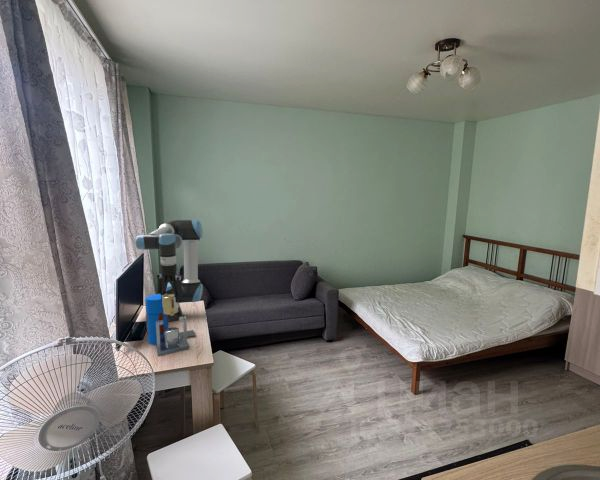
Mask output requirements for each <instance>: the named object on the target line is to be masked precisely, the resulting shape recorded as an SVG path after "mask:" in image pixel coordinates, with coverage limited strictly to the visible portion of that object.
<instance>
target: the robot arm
mask: <svg viewBox="0 0 600 480" xmlns="http://www.w3.org/2000/svg"><path fill="white" fill-rule="evenodd" d="M203 232H204V231H203V226H202V223H201V221H199V220H195V219H180V220H179V219H174V220H169V221H167V222H165V223H162V224H160V226H159V228H157V229H155V230H153V231H152V232H150V233H148V234H146V235H145V234H142V235H137V236H136V237H135V240H134V241H135V243H134V244H135V248H136V249H137V250H144V251H146V250H159V258H160V272H161V273H159V274H156V278H157V290H156V291H157V294H161V300H162V303H163V299H164V298H163V297H164V296H165V295H169V294H174V295H175V296H174V297H173V298H174V309H176V308H178V312H177V313H175V314H174V315H173V316H170V315H168V323H169V322H175V321H177V320H179V317H184V316H183V313H184V312H183V311H182V308H181V306H180V303H196V302H200V301H201V300H202V296H203V292H204V289H203V288H204V286H203V283H201V280H200V279H198V278H199V270H198V267H199V265H198V264H199V262H198V261H199V259H198V257H199V256H198V252H199V251H198V250H199V248H198V246H199V245H198V243H199V242H201V241H200V240H201V238H203V237H204V236H203V234H204V233H203ZM181 245H183V278H182V276H181V275H180V276H179V275H177V271H178V269H177V268H178V265H177V251H176V249H179V248H180V247H181ZM182 279H183V280H182Z"/></svg>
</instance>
